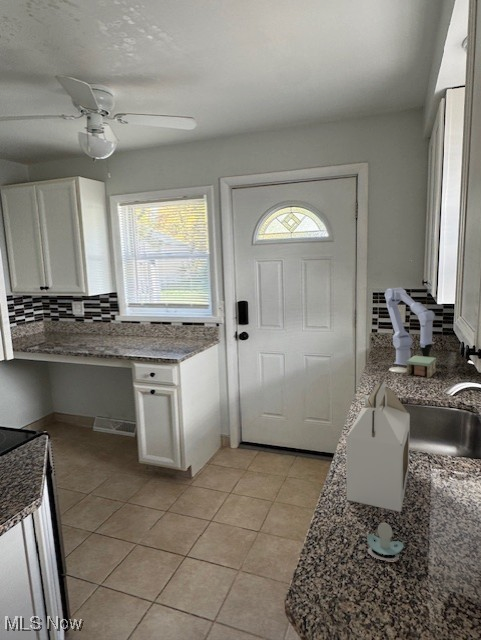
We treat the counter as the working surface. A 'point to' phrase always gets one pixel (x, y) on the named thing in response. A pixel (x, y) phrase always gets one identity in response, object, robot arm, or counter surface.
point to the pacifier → (384, 543)
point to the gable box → (379, 451)
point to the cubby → (430, 369)
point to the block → (420, 370)
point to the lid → (421, 360)
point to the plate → (398, 370)
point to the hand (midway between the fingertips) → (425, 358)
